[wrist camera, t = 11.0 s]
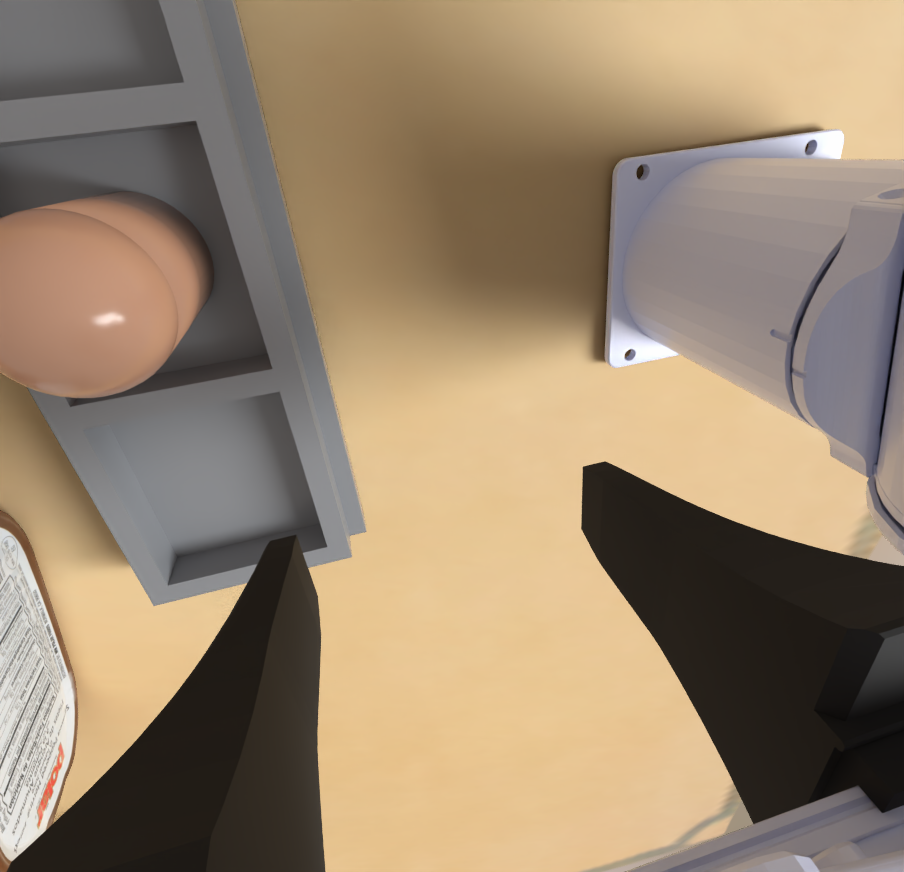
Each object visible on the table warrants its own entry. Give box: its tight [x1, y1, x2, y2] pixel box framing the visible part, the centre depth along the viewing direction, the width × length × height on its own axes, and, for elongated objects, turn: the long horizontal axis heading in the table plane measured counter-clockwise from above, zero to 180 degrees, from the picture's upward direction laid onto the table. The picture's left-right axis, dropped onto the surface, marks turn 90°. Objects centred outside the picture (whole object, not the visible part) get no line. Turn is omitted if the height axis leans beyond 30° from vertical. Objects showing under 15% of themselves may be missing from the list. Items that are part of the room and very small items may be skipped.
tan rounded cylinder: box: [0, 191, 214, 398], centre depth 13 cm, size 4×4×7 cm
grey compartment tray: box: [0, 0, 366, 606], centre depth 15 cm, size 9×24×3 cm, turn 6°
